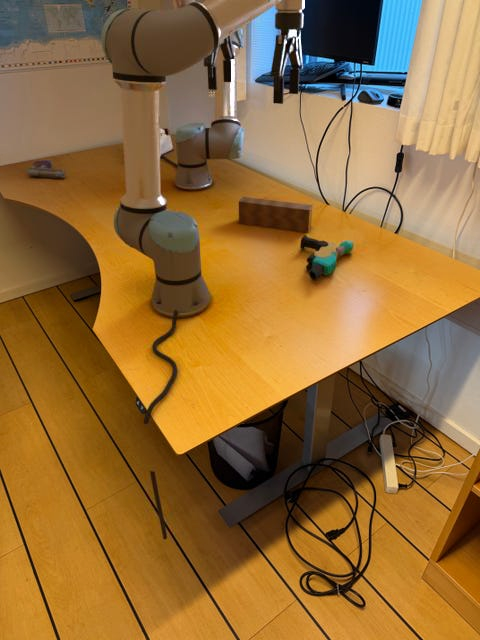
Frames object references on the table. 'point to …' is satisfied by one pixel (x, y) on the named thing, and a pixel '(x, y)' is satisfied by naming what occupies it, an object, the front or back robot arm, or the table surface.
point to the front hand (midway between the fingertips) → (286, 98)
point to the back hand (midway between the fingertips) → (220, 85)
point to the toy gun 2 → (323, 255)
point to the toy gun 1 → (45, 170)
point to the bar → (275, 214)
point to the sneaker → (165, 141)
